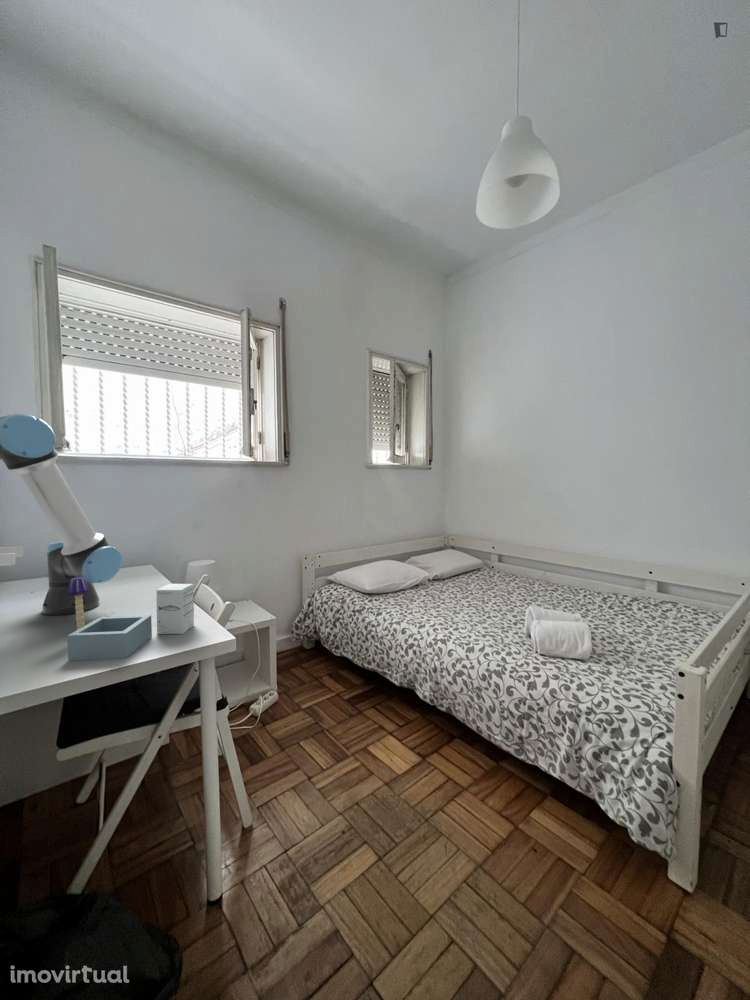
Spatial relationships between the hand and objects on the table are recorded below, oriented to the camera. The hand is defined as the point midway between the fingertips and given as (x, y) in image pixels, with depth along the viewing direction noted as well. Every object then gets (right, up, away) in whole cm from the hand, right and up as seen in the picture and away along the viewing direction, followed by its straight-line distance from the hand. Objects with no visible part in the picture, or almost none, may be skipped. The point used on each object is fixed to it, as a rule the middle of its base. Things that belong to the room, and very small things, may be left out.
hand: (19, 555), depth 96 cm
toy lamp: (+9, -24, +8) cm, 27 cm away
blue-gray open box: (+21, -24, +3) cm, 32 cm away
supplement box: (+31, -24, +15) cm, 42 cm away
